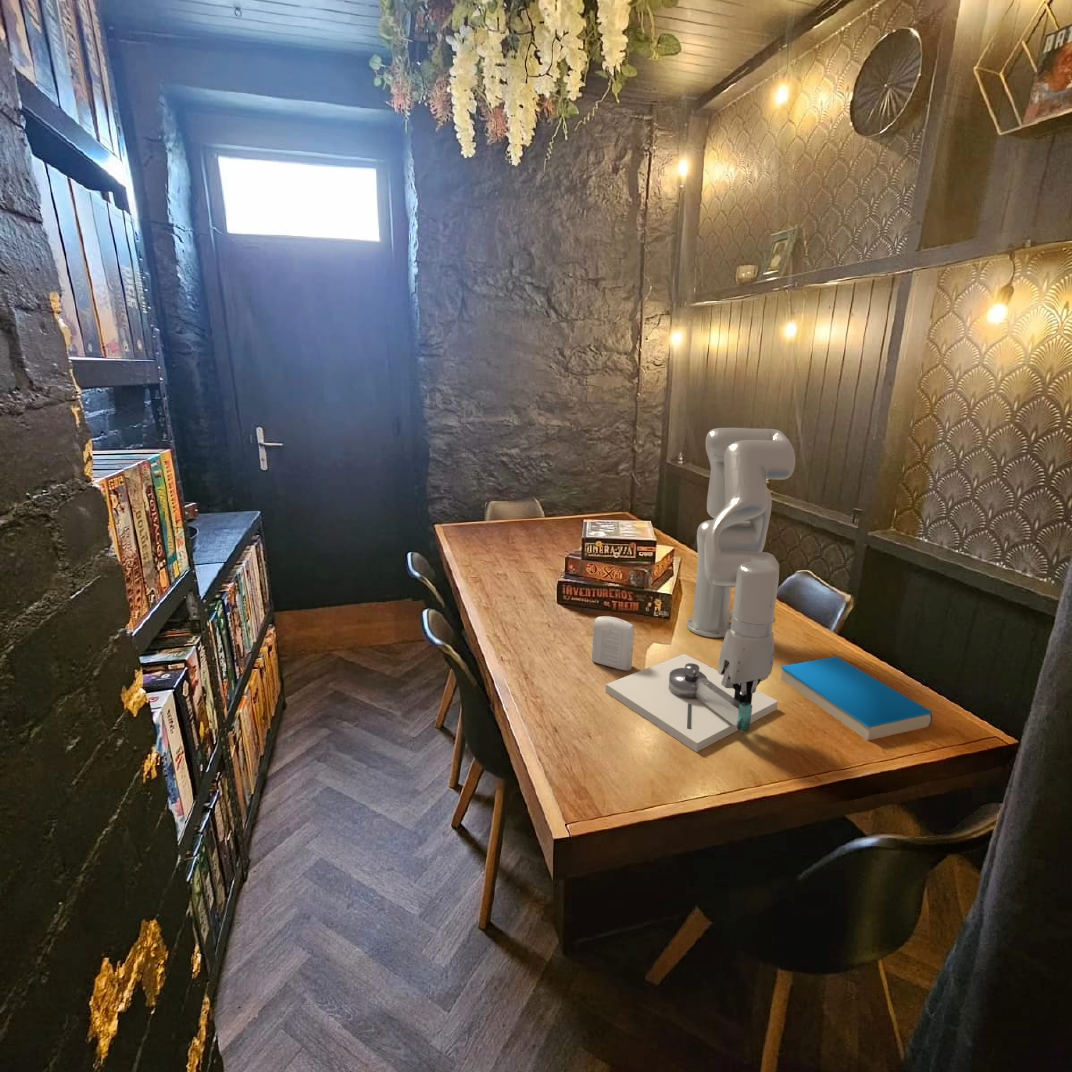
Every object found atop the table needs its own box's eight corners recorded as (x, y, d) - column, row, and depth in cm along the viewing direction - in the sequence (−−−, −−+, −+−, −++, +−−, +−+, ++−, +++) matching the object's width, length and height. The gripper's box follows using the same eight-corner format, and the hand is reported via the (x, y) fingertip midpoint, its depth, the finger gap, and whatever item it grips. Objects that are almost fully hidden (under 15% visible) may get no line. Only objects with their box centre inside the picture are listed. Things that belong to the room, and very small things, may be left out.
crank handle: (661, 684, 129) (663, 660, 128) (690, 676, 132) (692, 653, 131) (731, 739, 110) (734, 711, 108) (762, 729, 113) (766, 702, 111)
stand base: (683, 661, 144) (684, 653, 144) (776, 709, 124) (778, 700, 123) (605, 692, 130) (606, 683, 130) (696, 752, 110) (697, 742, 109)
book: (870, 726, 112) (780, 665, 135) (866, 745, 114) (778, 681, 136) (935, 711, 117) (838, 654, 140) (930, 729, 119) (835, 670, 141)
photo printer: (634, 665, 142) (637, 619, 139) (628, 673, 139) (631, 625, 135) (596, 655, 147) (598, 610, 144) (589, 662, 143) (590, 616, 140)
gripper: (767, 612, 118) (757, 692, 123) (707, 623, 112) (699, 706, 117) (796, 627, 111) (784, 710, 116) (733, 639, 106) (723, 726, 111)
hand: (741, 708), depth 117 cm, fingers closed
